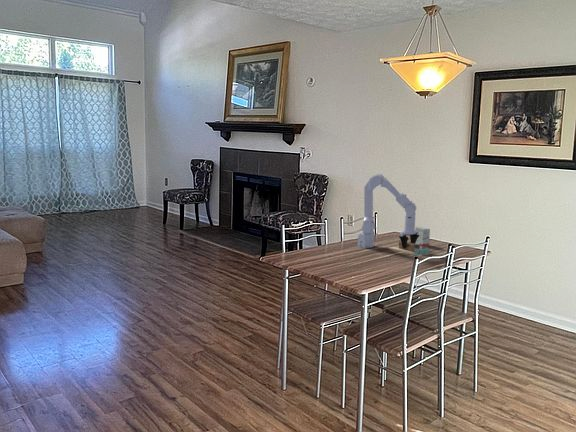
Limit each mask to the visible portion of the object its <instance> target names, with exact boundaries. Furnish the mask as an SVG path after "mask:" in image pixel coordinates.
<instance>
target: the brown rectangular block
mask: <svg viewBox="0 0 576 432" xmlns="http://www.w3.org/2000/svg"><path fill="white" fill-rule="evenodd" d="M398 246H399V249H403V250H407V251H410V252H414V248H417V249H421V246H420V245H418V244H414V243H411V241H410V242H409V241H407V246H406V248H403V247H402V243H401V241H399V242H398Z"/></svg>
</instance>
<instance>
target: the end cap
mask: <svg viewBox="0 0 576 432" xmlns="http://www.w3.org/2000/svg"><path fill="white" fill-rule="evenodd" d="M429 252H430V248H429V247H421V248H420V249H417V248H414V254H418V255H422V256H425V255H424V254H427V255H430V254H429Z"/></svg>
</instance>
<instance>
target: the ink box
mask: <svg viewBox="0 0 576 432" xmlns="http://www.w3.org/2000/svg"><path fill="white" fill-rule="evenodd" d="M415 230H418V231H419V234H417V235H419V237H418V238H417V240H416V243H415V244H418V245H420V248H422V247H427V248H429V246H430V237H431V236H430V234H431V228H427V227H424V226H415Z"/></svg>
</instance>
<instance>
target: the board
mask: <svg viewBox="0 0 576 432" xmlns="http://www.w3.org/2000/svg"><path fill="white" fill-rule="evenodd" d="M388 249H390V250H394V251H398V252H402V253H405V254H410V255H413V256H416V257H421V256H426V255H430V254H431V255H432V254H433V252H430V251H429V254H424V255H418V254H414V252H410V251H407V250H403V249H399V245H396V246H391V247H390V246H389V247H388Z"/></svg>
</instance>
